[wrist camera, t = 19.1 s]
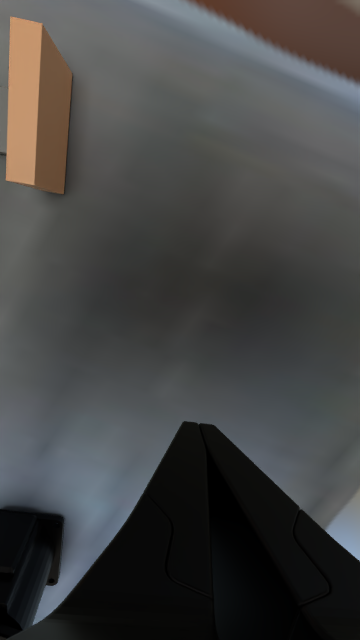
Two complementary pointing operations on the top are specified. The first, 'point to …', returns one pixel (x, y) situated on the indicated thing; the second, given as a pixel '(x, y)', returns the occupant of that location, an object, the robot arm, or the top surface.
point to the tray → (35, 109)
